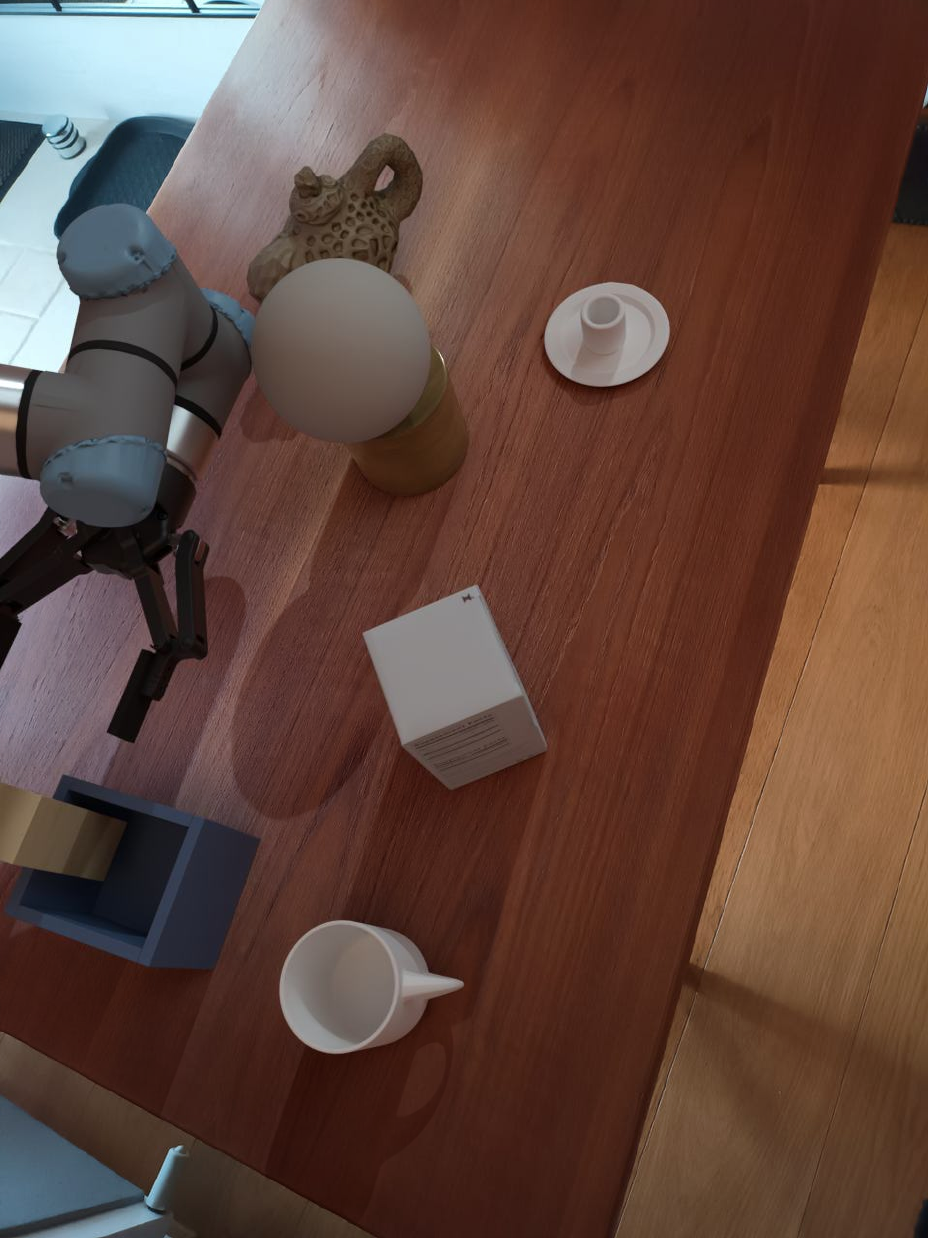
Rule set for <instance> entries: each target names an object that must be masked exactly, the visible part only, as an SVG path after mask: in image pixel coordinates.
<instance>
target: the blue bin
mask: <svg viewBox="0 0 928 1238" xmlns="http://www.w3.org/2000/svg"><path fill="white" fill-rule="evenodd" d="M52 798H53V799H56V800H59V801H62V802H65V803H68V804H72V805H75V806H78V807H81V808H84V809H88V810H91V811H94V812H97V813H100V814H104V815H107V816H110V817H113V818H117V819H120V820H123V821H126V822H127V825H126V827H125V830H124V832H123V835H122V837H121V840H120V842H119V844H118V847H117V849H116V852H115V854H114V857H113V859H112V862H111V864H110V867H109V869H108V872H107V874H106V877H105V879H104V881H103V882H102V881H97V880H92V879H86V878H81V877H76V876H70V875H65V874H60V873H54V872H49V871H44V870H38V869H33V868H28V867H23V866H22V868H21V870H20V873H19V875H18V876H17V880H16V882H15V884H14V887H13V889H12V891H11V894H10V896H9V899H8V900H7V903H6V905H5V908H4V909H3V915H5V916H8V917H11V918H14V919H16V920H18V921H22V922H24V923H26V924H30V925H33V926H36V927H38V928H40V929H43V930H46V931H49V932H51V933H55V934H57V935H58V936H59V935H60V936H62V937H65V938H67V939H70V940H73V941H76V942H79V943H82V944H84V945H87V946H90V947H92V948H95V949H97V950H101V951H103V952H106V953H109V954H111V955H115V956H116V957H119V958H122V959H125V960H128V961H130V962H133V963H136V964H138V965H142V966H144V967H147V968H162V969H164V968H166V969H192V970H193V969H194V970H214V969H215V967H216V964H217V962H218V960H219V956H220V955H221V951H222V948H223V946H224V942H225V939H226V937H227V935H228V932H229V928H230V926H231V924H232V920H233V918H234V915H235V912H236V909H237V906H238V904H239V901H240V898H241V895H242V893H243V890H244V887H245V884H246V882H247V878H248V876H249V874H250V870H251V867H252V865H253V862H254V859H255V856H256V853H257V851H258V848H259V846H260V843H261V838H260V837H257V836H254V835H252V834H249V833H247V832H244V831H241V830H238V829H236V828H233V827H231V826H227V825H225V824H222V823H220V822H217V821H214V820H211V819H209V818H206V817H203V816H200V815H196V814H194V813H190V812H188V811H184V810H181V809H178V808H174V807H171V806H167V805H165V804H162V803H158V802H155V801H151V800H149V799H145V798H142V797H138V796H135V795H132V794H128V793H126V792H122V791H119V790H116V789H113V788H110V787H108V786H107V787H106V786H103V785H100V784H98V783H93V782H90V781H87V780H83V779H80V778H78V777H74V776H71V775H68V774H64V773H63V774H62V775H61V778H60V780H59V782H58V784H57V787H56V789H55V791H54V794H53V796H52Z"/></svg>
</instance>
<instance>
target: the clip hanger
mask: <svg viewBox="0 0 928 1238" xmlns="http://www.w3.org/2000/svg"><path fill="white" fill-rule="evenodd" d="M126 825H127V822H126V821H123V820H120V819H117V818H113V817H110V816H107V815H104V814H100V813H97V812H94V811H91V810H88V809H84V808H81V807H78V806H75V805H72V804H68V803H65V802H62V801H59V800H56V799H53V797H50V796H47V795H44V794H42V793H41V794H40V793H38V792H34V791H30V790H27V789H25V788H21V787H17V786H14V785H12V784H8V783H5V782H3V781H0V861H1V862H4V863H6V864H10V865H13V866H17V867H18V866H19V867H22V868H23V867H28V868H33V869H38V870H44V871H49V872H54V873H60V874H65V875H70V876H76V877H81V878H86V879H92V880H97V881H102V882H103V881H104V879H105V877H106V874H107V872H108V869H109V867H110V864H111V862H112V859H113V857H114V854H115V852H116V849H117V847H118V844H119V842H120V840H121V837H122V835H123V832H124V830H125V827H126Z"/></svg>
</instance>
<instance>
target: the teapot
mask: <svg viewBox="0 0 928 1238" xmlns="http://www.w3.org/2000/svg"><path fill="white" fill-rule="evenodd" d="M387 166H388V168H390V170H391V171H392V172H394V174H393V177H392V179H391V180H390V181H389V182H388V184H387V186H386V187H384V188H381V189H379V190H375V189H376V186H377V183H378V180H379V178H380V176H381V175H382V173H383V171H384V170H385V169H386V167H387ZM423 178H424V174H423V170H422V168H421V166H420V163H419V162H418V159H417V157H416V155H415V152H414V151H413V150H412V149H411V147H410V145H408V143H407V142H406V140H404V139H403V137H401V136H397V135H394V134H390V133H387V132H383V133H382V134H380V135H379V136H377V137H376V138H374V139H372V140H370V141H369V142H368V143H367V145H366V146H365V147H364V149H362V152H361V153H360V154H359V155H358V157H357V158H356V160H355V161H354V162H353V164H352V165H351V166H350V167H349V169H348V170H347V171H346V172H345V173H344V174H343V175H341V176H340V177H339V178H338V179H334V177H332V176H331V175H328V174H320V175H316V173H315V172H314V170H313V168H311V166H309V165H308V166H307V165H304V166H302V168H301V169H300V170H298V172H297V173H296V174H295V175H294V176H293V183H294V187H293V189H292V190H291V192H290V196H289V200H288V207H289V212H290V214H289V215H288V216H287V218H286V219H285V222H284V225H283V228H282V230H281V231H280V232H279V233H278V234H277V235H276V236H274V238H273V239H272V240H271V241H270V243H268V244H267V245H265V246H264V247H263V248H261V249H260V251H259V253H257V254H256V256H255V257H254V258H253V259H252V260H251V262H249V264H248V269H247V273H246V283H247V286H248V294H249V295H250V297H252V299H254V300H255V302H257V304H258V305H259V306H260V307H261V305H262V303H263V301H264V299H265V298H266V296H267V295H268V293H269V292H270V291H271V290H272V289H273V287H274V286H275V285H276V284H277V283H278V282H279V281H280V280H281V279H282V278H284V277H285V276H286V275H287V274H289V273H290V272H292V271H293V270H295V269H297V268H299V267H301V266H303V265H305V264H308V263H311V262H314V261H318V260H323V259H332V258H345V259H352V260H357V261H362V262H365V263H368V264H370V265H373V266H375V267H377V268H379V269H381V270H383V271H384V272H386V273H388V274H389V275H390V273H391V271H392V269H393V264H394V260H395V255H396V254H397V251H398V245H399V242H400V227H401V223H402V222H403V221H404V220H406V219H407V218H409V217H411V215H412V214H413V212H414V211H415V209H416V207H417V205H418V203H419V202H420V200H421V196H422V191H423V185H424V179H423Z"/></svg>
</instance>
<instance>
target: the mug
mask: <svg viewBox="0 0 928 1238" xmlns="http://www.w3.org/2000/svg"><path fill="white" fill-rule="evenodd" d="M282 966H283V967H282V968H281V969H282V970H281V973H280V979H279V1002H280V1007H281V1010H282V1014H283V1017H284V1020H285V1021H286V1023H287V1025H288V1027H289V1028H290V1030H291V1032H293V1034H294V1035H295V1036H296V1038H298V1039H299V1040H300V1041H301V1042H302V1043H304V1044H305V1045H306V1046H308V1047H310V1048H312V1049H313V1050H315V1051H318V1052H321V1053H326V1054H332V1055H340V1054H341V1055H342V1054H348V1053H352V1052H357V1051H361V1050H367V1049H371V1048H376V1047H380V1046H385V1045H388V1044H392V1043H395V1042H396V1041H398V1040H400V1039H402V1038H404V1036H406V1035H408V1034H409V1033H411V1031H412V1030H413V1029H414V1028H415V1026H416V1025H417V1024H419V1021H420V1020H421V1019H422V1016H423V1015H424V1012H425V1010H426V1008H427V1005H428V1003H429V1000H431V999H434V998H437V997H438V998H439V997H440V996H444V995H447V994H450V993H453V992H456V991H459V990H461V989H463V988H464V986H465V983H464V982H463V981H462V980H460V979H457V978H453V977H450V976H444V975H440V974H436V973H432V972H429V968H428V965H427V962H426V960H425V957H424V956H423V954H422V952H421V951H420V949H419V948H418V946H417V945H416V944H415V943H414V942H413V941H412V940H411V939H410V938H408V937H407V936H405V935H404V934H402V933H400V932H398V931H396V930H393V929H390V928H385V927H381V926H376V925H371V924H367V923H362V922H358V921H352V920H345V919H341V920H339V919H338V920H332V921H327V922H323V923H322V924H319V925H317V926H315V927H313V928H312V929H310V930H308V932H306V933H305V934H303V935H302V936H301V937H300V938H299V939H298V940H297V942H296V943H295V944H294V945H293V946H292V948H291V950H290V951H289V953H288V955H287V956H286V959H285V961H284V964H283V965H282Z"/></svg>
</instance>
